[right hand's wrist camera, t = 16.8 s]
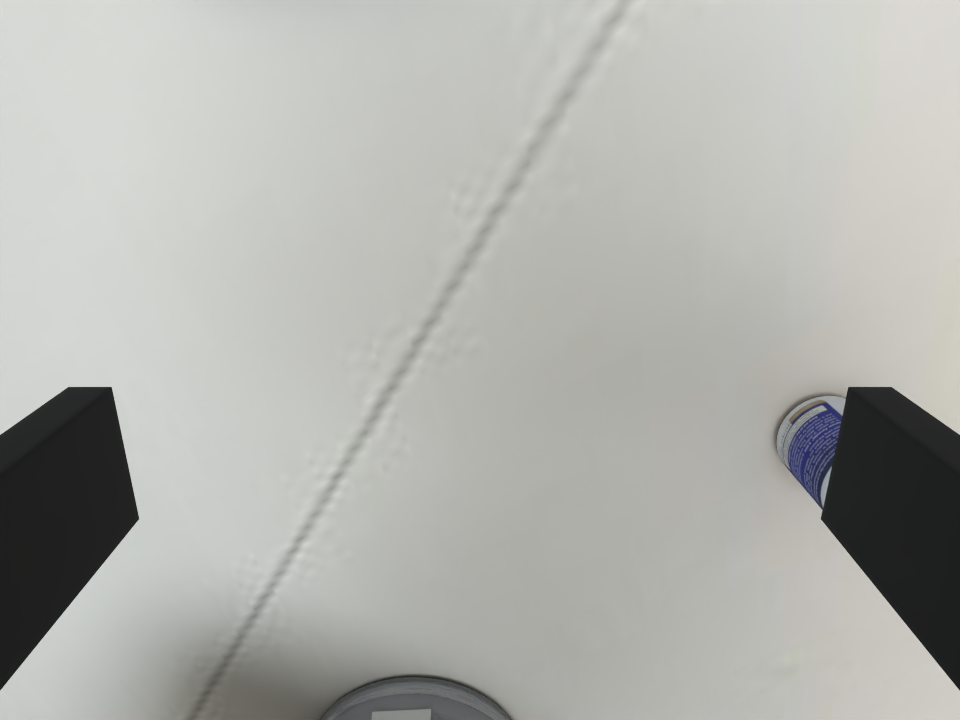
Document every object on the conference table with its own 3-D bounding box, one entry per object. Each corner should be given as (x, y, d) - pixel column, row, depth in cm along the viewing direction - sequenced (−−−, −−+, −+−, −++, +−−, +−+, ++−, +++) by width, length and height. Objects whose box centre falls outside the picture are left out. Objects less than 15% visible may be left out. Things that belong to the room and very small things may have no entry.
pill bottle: (769, 476, 41) (843, 572, 33) (779, 395, 39) (860, 476, 31) (859, 472, 41) (957, 567, 32) (873, 391, 39) (980, 470, 31)
